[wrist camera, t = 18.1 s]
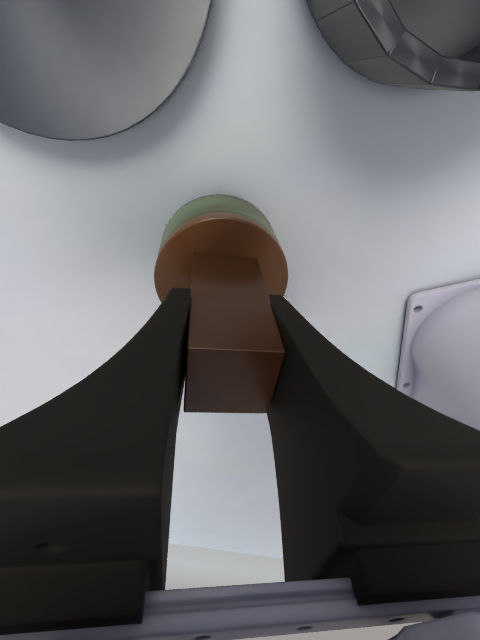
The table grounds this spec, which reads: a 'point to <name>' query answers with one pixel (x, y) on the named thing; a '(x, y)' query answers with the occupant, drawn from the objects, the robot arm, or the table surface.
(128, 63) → the tin lid
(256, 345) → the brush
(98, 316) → the table surface
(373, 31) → the tin
